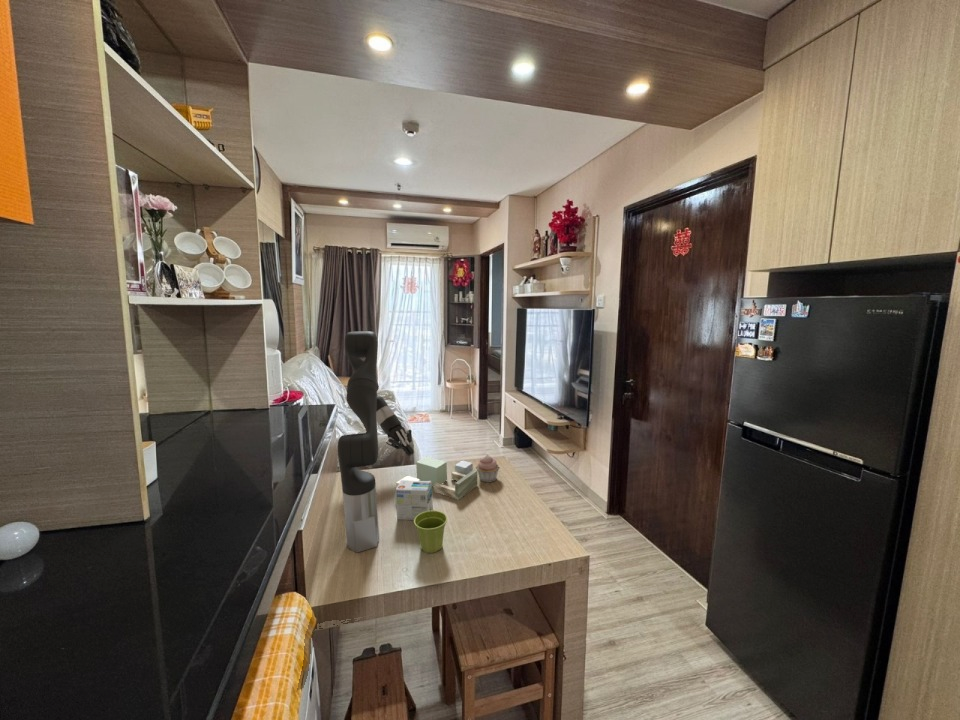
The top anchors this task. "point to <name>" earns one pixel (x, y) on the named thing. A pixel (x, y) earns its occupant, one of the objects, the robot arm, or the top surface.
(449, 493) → the birch bay
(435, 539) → the plant pot
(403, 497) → the light bulb box
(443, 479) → the sage block
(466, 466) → the grey-blue block
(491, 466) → the cupcake
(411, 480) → the cream block
